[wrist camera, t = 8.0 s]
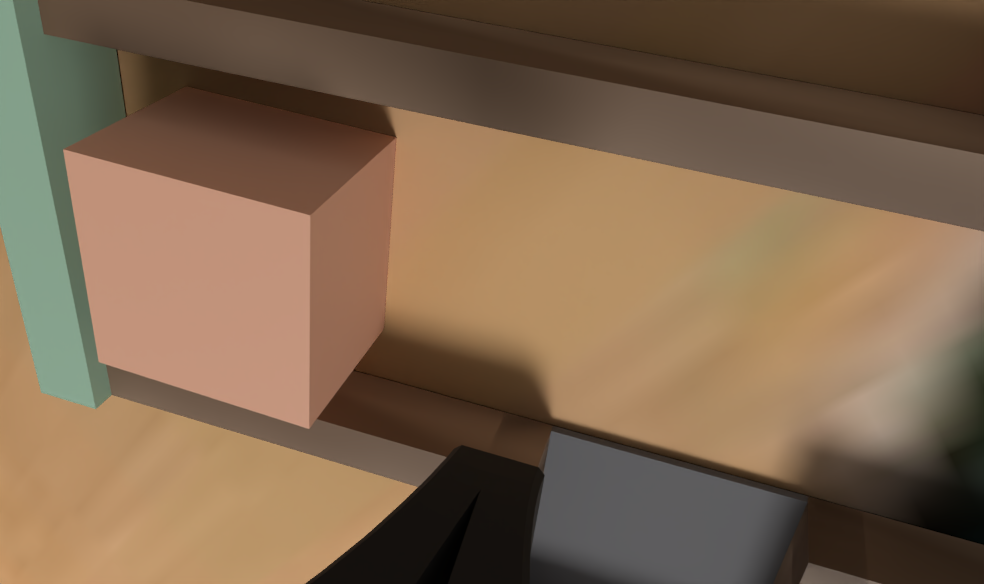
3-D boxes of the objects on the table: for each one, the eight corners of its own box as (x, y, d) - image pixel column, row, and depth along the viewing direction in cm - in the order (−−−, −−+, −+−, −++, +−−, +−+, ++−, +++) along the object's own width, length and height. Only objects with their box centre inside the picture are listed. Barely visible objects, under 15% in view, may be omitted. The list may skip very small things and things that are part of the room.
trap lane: (1227, 832, 21) (1277, 953, 19) (135, 480, 27) (77, 542, 25) (2379, -166, 9) (2867, -149, 7) (-25, -397, 15) (-159, -425, 13)
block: (386, 325, 21) (309, 428, 17) (203, 273, 22) (98, 362, 18) (398, 135, 18) (310, 215, 15) (190, 84, 19) (62, 148, 16)
